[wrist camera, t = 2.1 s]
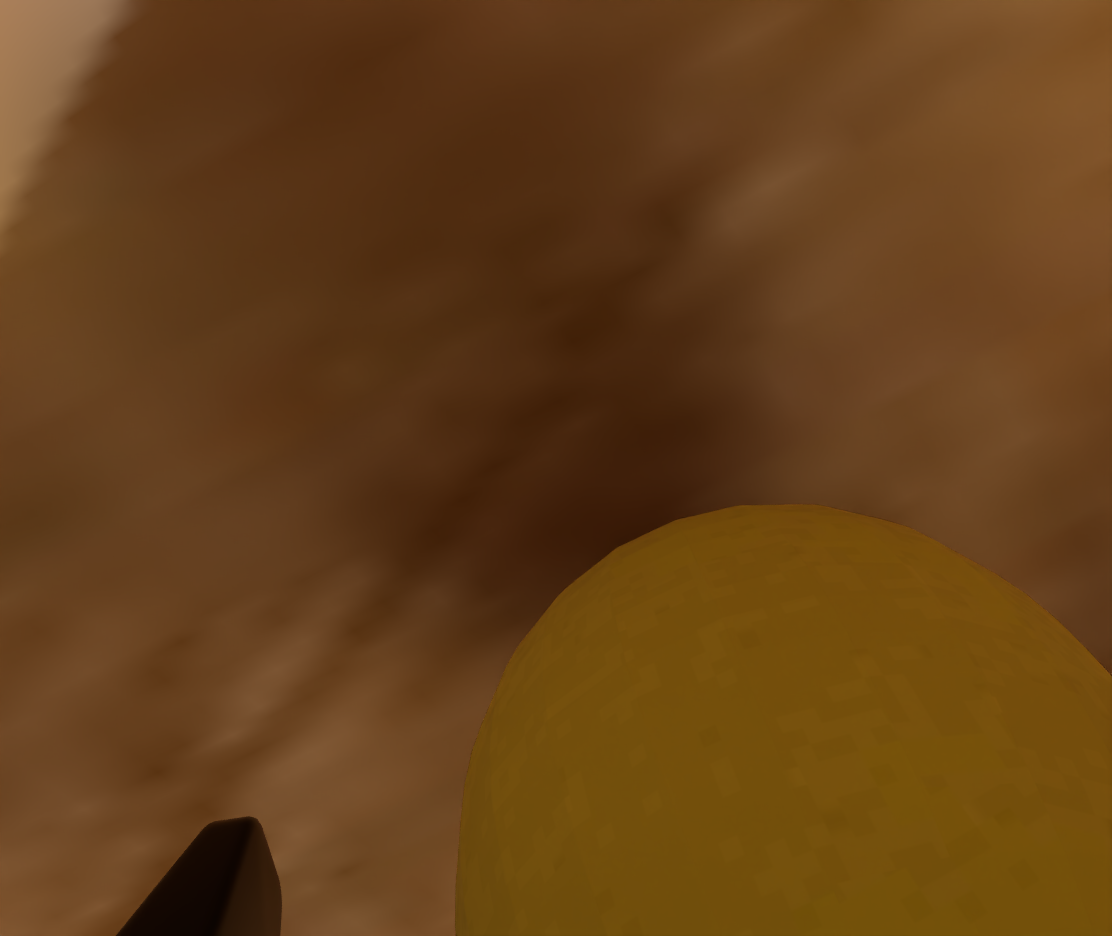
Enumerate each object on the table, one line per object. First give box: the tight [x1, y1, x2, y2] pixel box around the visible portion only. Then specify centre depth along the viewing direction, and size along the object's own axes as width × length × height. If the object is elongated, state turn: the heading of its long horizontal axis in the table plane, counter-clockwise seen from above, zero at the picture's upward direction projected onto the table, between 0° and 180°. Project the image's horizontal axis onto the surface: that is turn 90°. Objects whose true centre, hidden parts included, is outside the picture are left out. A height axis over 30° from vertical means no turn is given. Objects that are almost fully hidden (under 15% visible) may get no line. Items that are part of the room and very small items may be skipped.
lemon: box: [455, 504, 1112, 936], centre depth 8 cm, size 6×6×8 cm
